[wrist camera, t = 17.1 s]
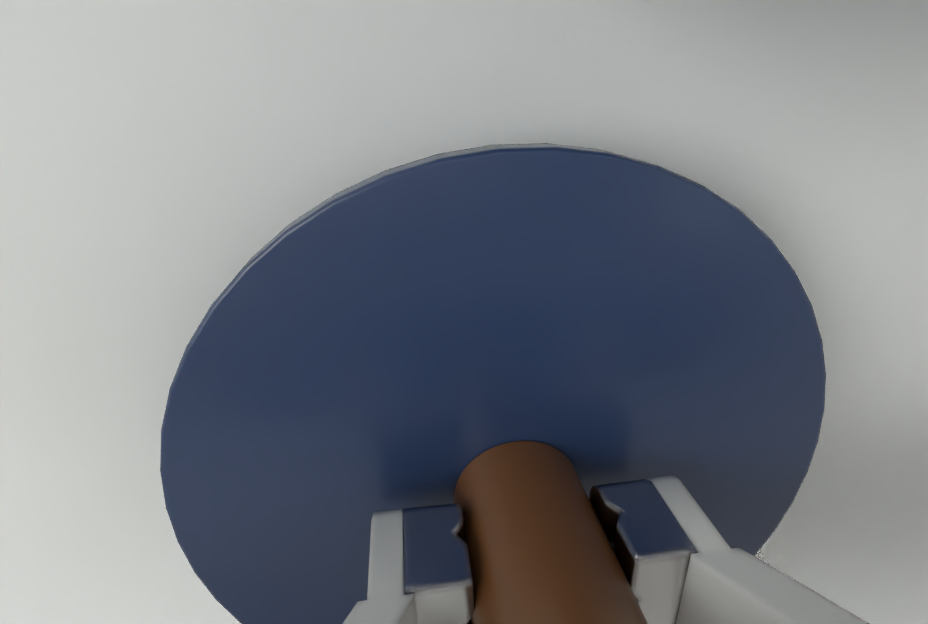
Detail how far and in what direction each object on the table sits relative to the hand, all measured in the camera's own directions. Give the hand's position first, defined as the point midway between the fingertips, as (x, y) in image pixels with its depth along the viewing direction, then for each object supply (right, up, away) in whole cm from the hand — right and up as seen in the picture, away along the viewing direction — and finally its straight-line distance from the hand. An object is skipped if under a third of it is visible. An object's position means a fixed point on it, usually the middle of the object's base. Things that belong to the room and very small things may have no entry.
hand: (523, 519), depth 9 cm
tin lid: (0, +1, +1) cm, 1 cm away
